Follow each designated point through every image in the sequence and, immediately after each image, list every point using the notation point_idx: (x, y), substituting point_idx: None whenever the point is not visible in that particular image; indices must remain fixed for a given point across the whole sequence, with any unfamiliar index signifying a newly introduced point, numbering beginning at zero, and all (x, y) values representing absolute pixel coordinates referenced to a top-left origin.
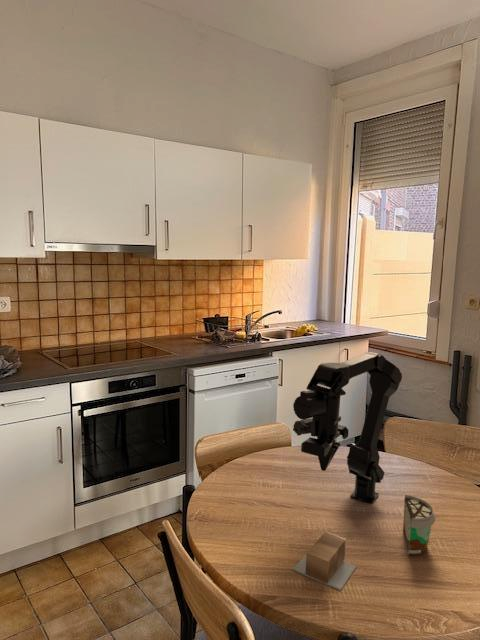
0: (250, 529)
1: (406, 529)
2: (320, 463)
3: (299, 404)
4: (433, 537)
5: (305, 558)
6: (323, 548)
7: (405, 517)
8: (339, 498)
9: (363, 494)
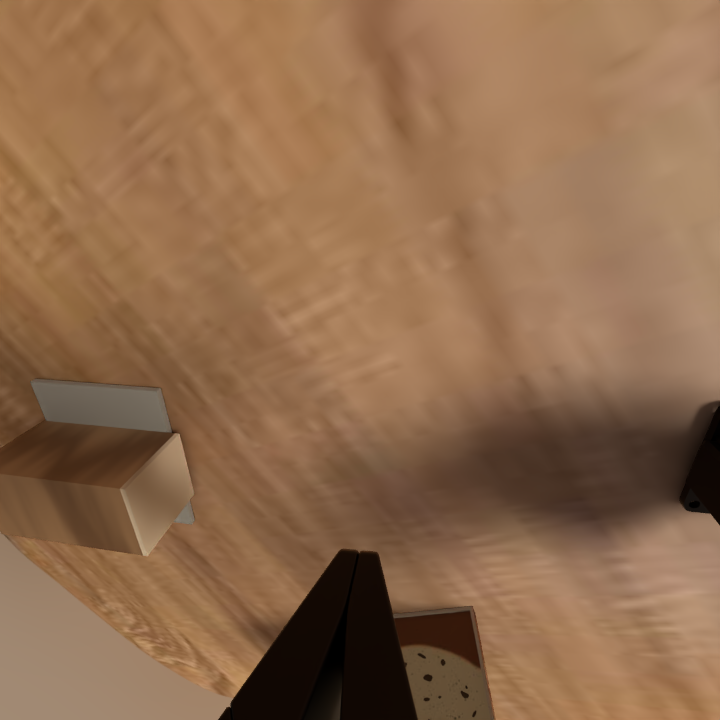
0: (55, 69)
1: (413, 667)
2: (286, 635)
3: None
4: (504, 669)
5: (98, 394)
6: (36, 508)
7: (456, 693)
8: (679, 352)
9: (707, 500)
